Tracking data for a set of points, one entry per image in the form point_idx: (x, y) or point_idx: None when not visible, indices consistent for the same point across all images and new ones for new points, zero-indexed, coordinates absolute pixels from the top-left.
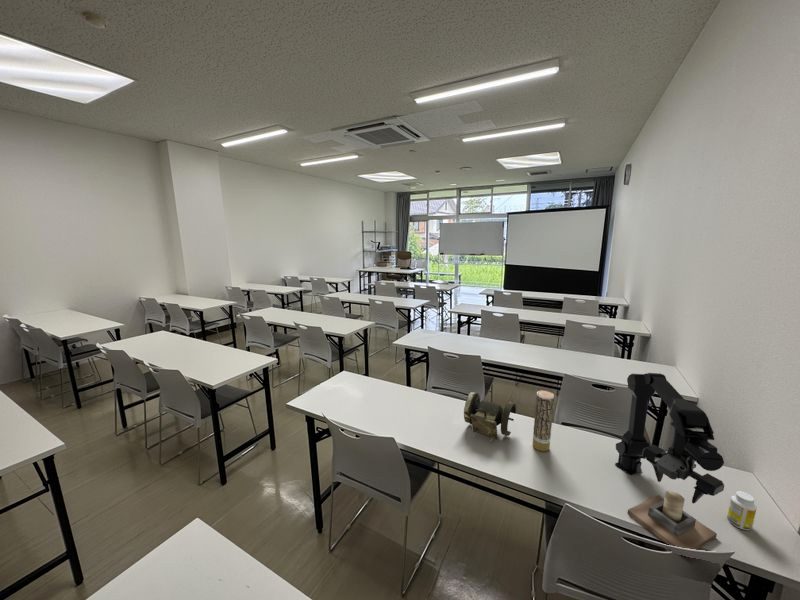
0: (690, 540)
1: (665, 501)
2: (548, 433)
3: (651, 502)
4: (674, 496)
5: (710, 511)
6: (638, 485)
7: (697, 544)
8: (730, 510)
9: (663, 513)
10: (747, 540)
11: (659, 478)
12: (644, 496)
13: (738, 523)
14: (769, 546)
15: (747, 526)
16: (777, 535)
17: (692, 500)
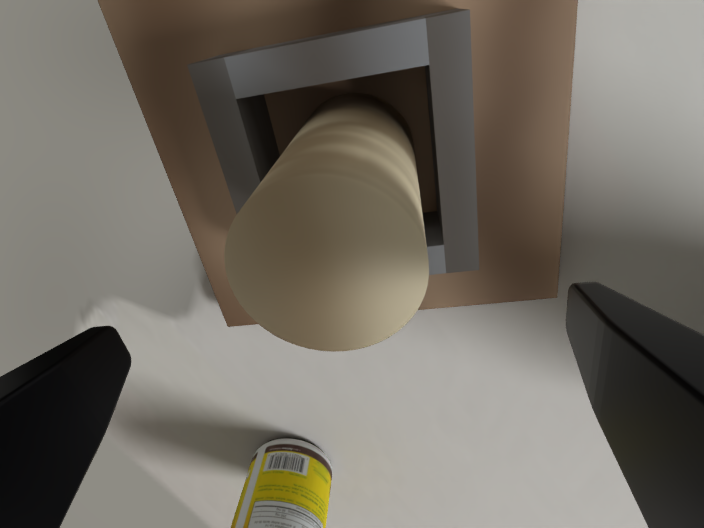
0: (188, 122)
1: (375, 151)
2: None
3: (535, 182)
4: (324, 264)
5: (375, 431)
6: (695, 269)
7: (155, 136)
8: (299, 499)
9: (379, 111)
10: (213, 409)
11: (604, 331)
12: (608, 213)
13: (267, 458)
14: (183, 446)
15: (248, 471)
16: (227, 506)
17: (73, 349)
